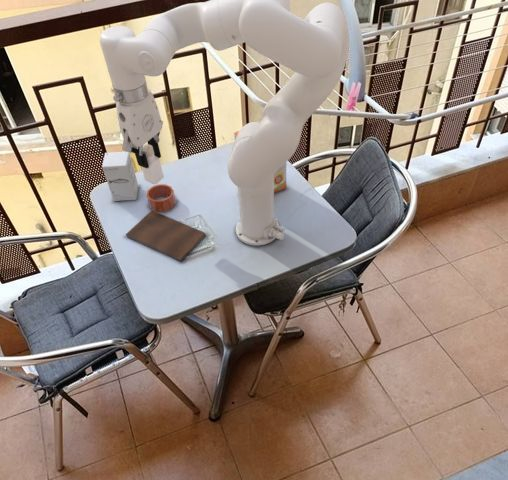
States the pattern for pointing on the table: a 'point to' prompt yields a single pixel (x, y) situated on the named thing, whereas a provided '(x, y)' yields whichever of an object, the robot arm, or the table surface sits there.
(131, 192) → the white packaging box
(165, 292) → the table surface
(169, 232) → the walnut board
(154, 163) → the pepper shaker
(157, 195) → the crock
